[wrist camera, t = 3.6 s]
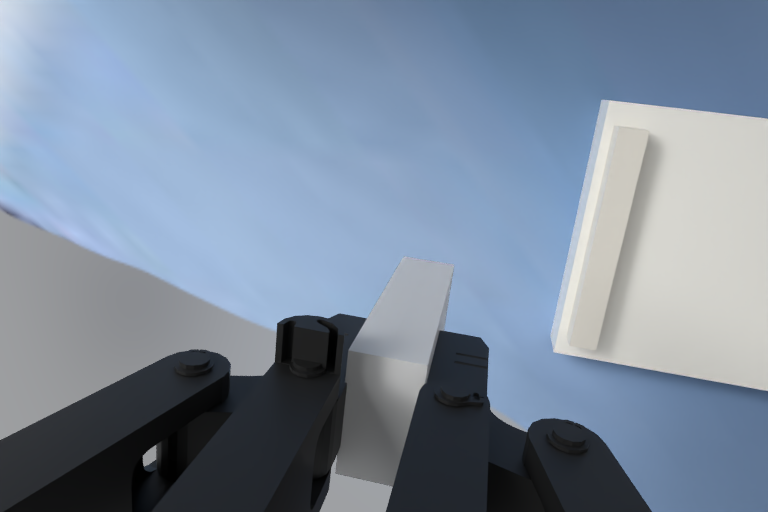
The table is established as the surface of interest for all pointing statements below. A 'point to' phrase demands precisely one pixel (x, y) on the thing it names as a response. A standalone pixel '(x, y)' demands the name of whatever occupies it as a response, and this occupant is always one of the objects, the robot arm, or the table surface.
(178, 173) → the table surface
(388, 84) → the table surface
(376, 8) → the table surface
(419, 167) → the table surface
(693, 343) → the panel
